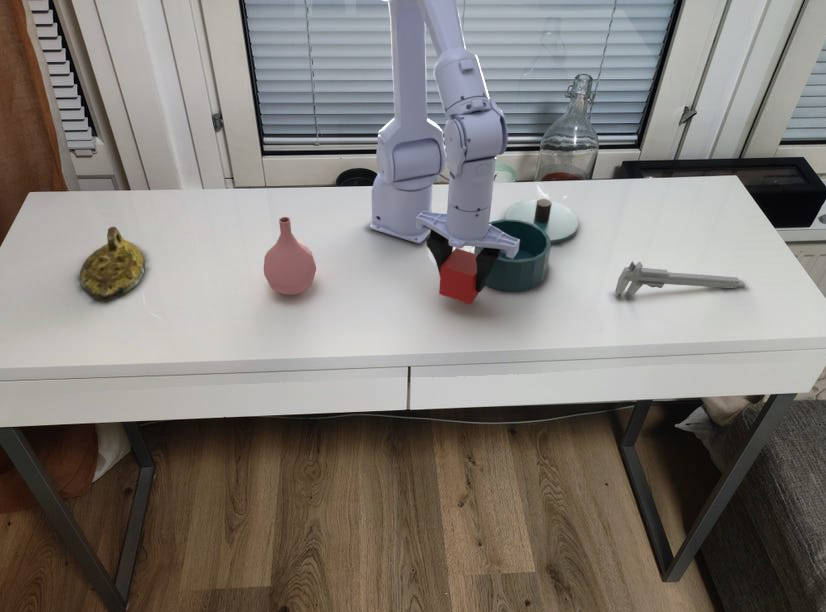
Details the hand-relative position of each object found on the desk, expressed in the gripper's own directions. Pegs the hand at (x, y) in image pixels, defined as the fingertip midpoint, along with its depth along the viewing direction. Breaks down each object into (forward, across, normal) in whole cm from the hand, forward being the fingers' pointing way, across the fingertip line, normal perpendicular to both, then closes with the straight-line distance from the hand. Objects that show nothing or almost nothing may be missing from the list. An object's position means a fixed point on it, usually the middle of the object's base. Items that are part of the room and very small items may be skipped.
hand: (462, 281), depth 109 cm
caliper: (+4, +28, +19) cm, 34 cm away
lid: (+4, +3, +26) cm, 26 cm away
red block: (+1, 0, 0) cm, 1 cm away
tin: (+4, +3, +12) cm, 13 cm away
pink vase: (+4, -24, -8) cm, 26 cm away
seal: (+4, -50, -19) cm, 53 cm away
